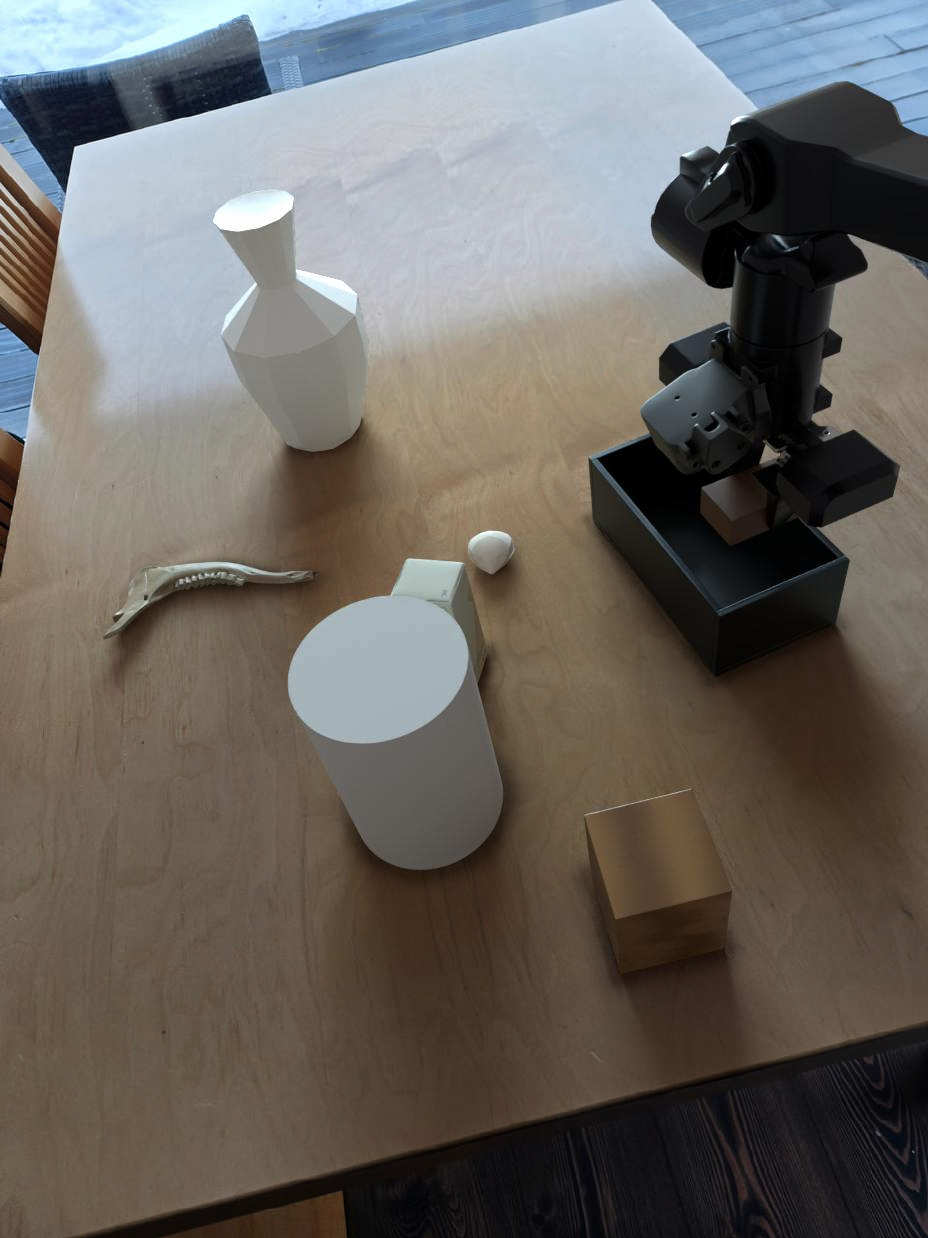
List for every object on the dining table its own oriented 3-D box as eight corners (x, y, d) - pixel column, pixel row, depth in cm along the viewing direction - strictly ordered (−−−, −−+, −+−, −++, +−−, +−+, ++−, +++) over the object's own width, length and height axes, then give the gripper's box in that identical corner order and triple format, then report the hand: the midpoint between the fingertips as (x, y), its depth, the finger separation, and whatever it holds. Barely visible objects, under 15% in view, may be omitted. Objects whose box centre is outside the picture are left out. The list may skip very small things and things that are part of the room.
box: (489, 650, 80) (469, 561, 71) (476, 691, 77) (453, 604, 69) (431, 643, 81) (405, 555, 73) (416, 682, 79) (387, 596, 70)
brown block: (782, 478, 70) (785, 452, 68) (815, 510, 67) (819, 484, 65) (699, 512, 69) (701, 487, 67) (730, 546, 66) (732, 521, 64)
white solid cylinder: (518, 745, 73) (487, 604, 60) (482, 882, 66) (439, 756, 53) (381, 726, 76) (325, 588, 64) (333, 855, 70) (259, 729, 57)
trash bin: (836, 624, 76) (850, 559, 70) (715, 677, 74) (719, 616, 69) (696, 475, 89) (699, 412, 84) (592, 518, 88) (587, 456, 82)
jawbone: (110, 590, 93) (101, 575, 91) (307, 528, 95) (301, 512, 93) (111, 651, 86) (101, 636, 85) (322, 583, 88) (316, 567, 87)
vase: (319, 487, 97) (237, 266, 78) (240, 438, 105) (149, 226, 86) (415, 414, 103) (361, 191, 84) (334, 373, 110) (267, 160, 92)
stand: (688, 852, 65) (691, 788, 58) (724, 949, 61) (732, 891, 54) (591, 876, 65) (583, 814, 58) (620, 974, 61) (615, 920, 54)
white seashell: (515, 541, 88) (512, 522, 86) (516, 580, 84) (513, 561, 82) (470, 546, 88) (465, 527, 86) (470, 585, 85) (465, 566, 83)
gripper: (587, 296, 61) (598, 476, 73) (751, 455, 49) (733, 639, 61) (736, 240, 62) (723, 425, 74) (930, 381, 50) (878, 574, 62)
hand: (757, 509), depth 68 cm, fingers closed on brown block, 4 cm apart
